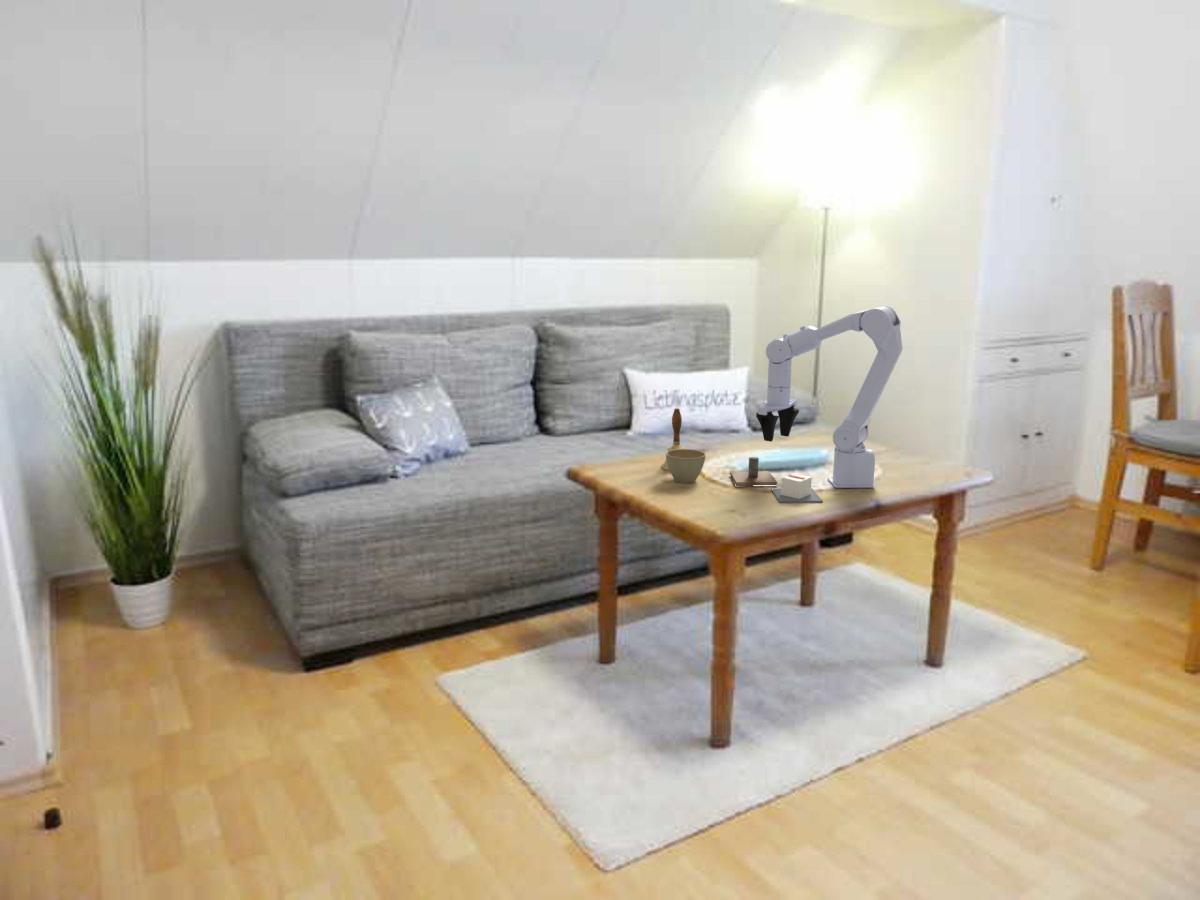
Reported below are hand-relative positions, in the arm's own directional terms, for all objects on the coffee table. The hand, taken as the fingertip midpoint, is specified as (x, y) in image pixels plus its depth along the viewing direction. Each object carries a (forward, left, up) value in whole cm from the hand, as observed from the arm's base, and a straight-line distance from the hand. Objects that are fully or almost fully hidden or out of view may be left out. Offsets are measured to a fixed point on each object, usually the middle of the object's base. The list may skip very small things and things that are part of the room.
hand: (776, 438), depth 220 cm
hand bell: (+25, -7, -10) cm, 28 cm away
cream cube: (-1, +20, -9) cm, 22 cm away
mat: (-1, +20, -9) cm, 22 cm away
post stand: (+7, +7, -9) cm, 14 cm away
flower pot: (+24, +6, -10) cm, 27 cm away
